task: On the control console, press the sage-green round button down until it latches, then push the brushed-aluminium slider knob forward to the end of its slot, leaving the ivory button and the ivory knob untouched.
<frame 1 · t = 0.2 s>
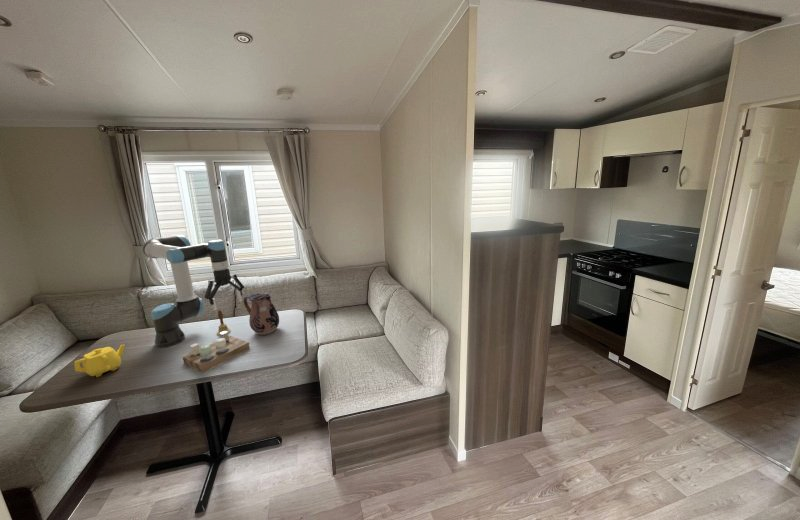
hand: (227, 305, 166), 28 cm above the table, fingers open, 13 cm apart
button ivory: (220, 343, 162), point 9 cm above the table, slide at 0.0 cm
ceramic pitcher: (263, 332, 194), on the table
slider aluminium: (224, 336, 175), point 7 cm above the table, slide at 0.0 cm
teapot: (104, 370, 158), on the table
slider ivory: (195, 349, 162), point 7 cm above the table, slide at 0.0 cm
hand bell: (223, 333, 195), on the table
console: (218, 355, 167), on the table
button sage: (205, 350, 156), point 9 cm above the table, slide at 0.0 cm
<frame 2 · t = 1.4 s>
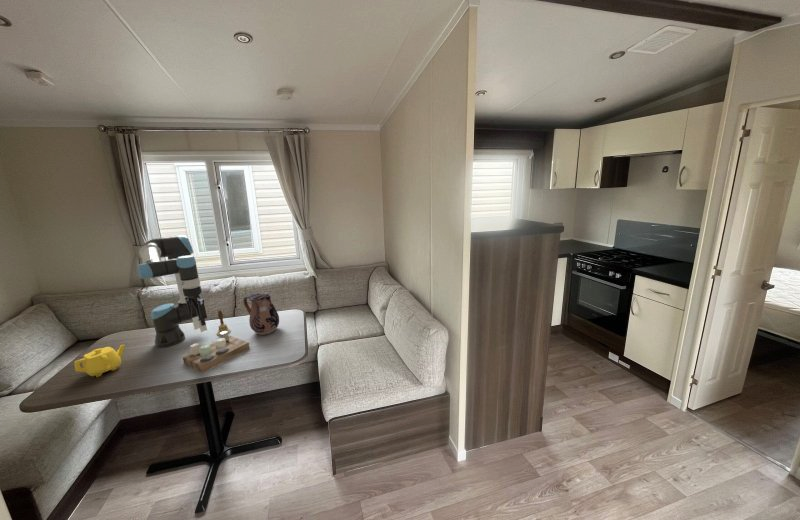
hand: (200, 329, 153), 21 cm above the table, fingers open, 5 cm apart
nothing on the table moved.
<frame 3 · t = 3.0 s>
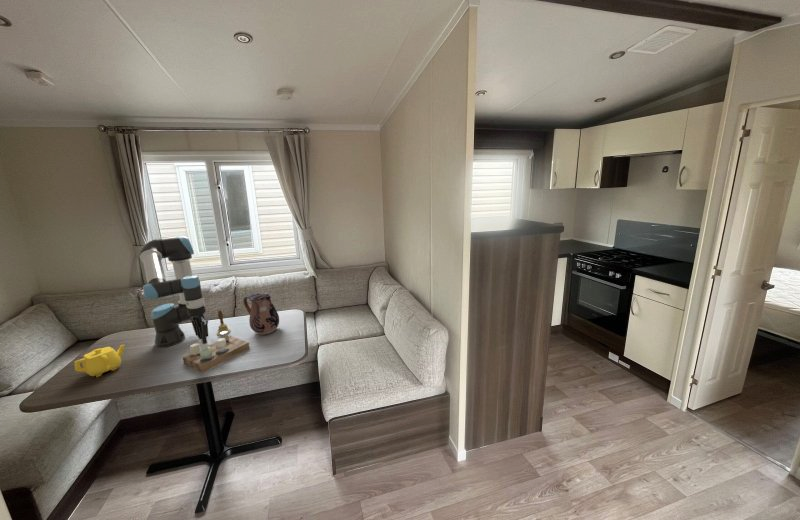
hand: (204, 348, 155), 10 cm above the table, fingers closed
button sage: (205, 352, 156), point 8 cm above the table, slide at 1.0 cm, touching gripper
everything else where it was.
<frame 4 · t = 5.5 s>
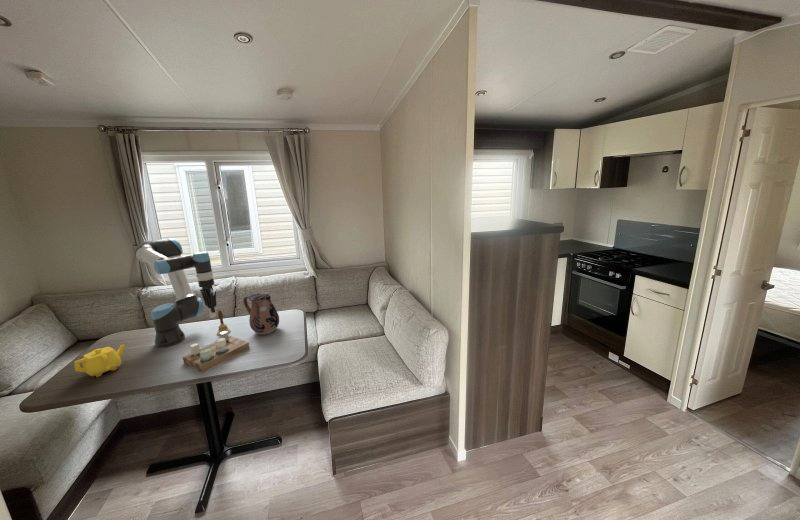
hand: (213, 317, 175), 18 cm above the table, fingers closed
button sage: (206, 354, 156), point 6 cm above the table, slide at 2.4 cm
everything else where it was.
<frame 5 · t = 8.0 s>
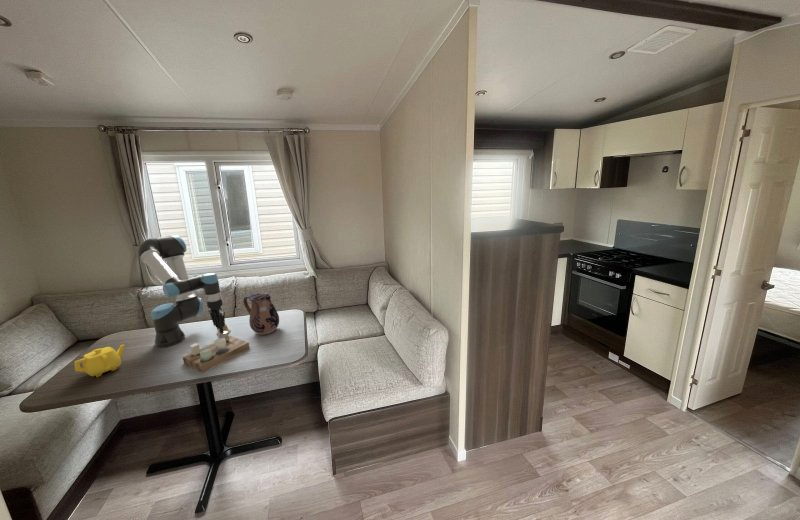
hand: (221, 337, 177), 6 cm above the table, fingers closed
slider aluminium: (224, 336, 175), point 7 cm above the table, slide at 0.3 cm, touching gripper
everything else where it was.
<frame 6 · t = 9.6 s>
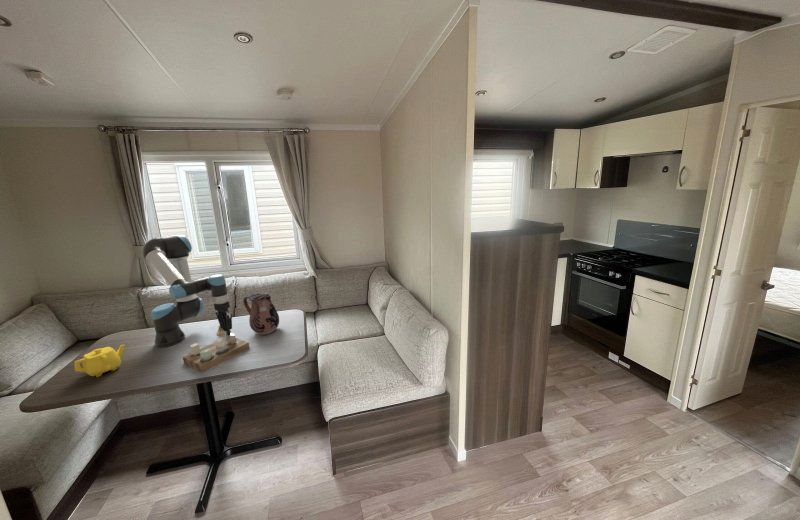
hand: (228, 339, 173), 5 cm above the table, fingers closed
slider aluminium: (231, 339, 171), point 7 cm above the table, slide at 7.4 cm, touching gripper
everything else where it was.
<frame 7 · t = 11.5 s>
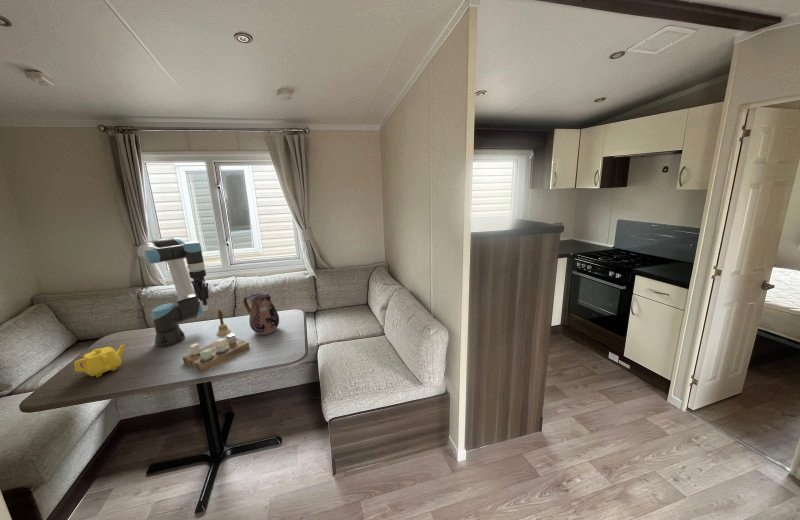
hand: (205, 310, 168), 25 cm above the table, fingers closed
slider aluminium: (231, 339, 171), point 7 cm above the table, slide at 7.4 cm
everything else where it was.
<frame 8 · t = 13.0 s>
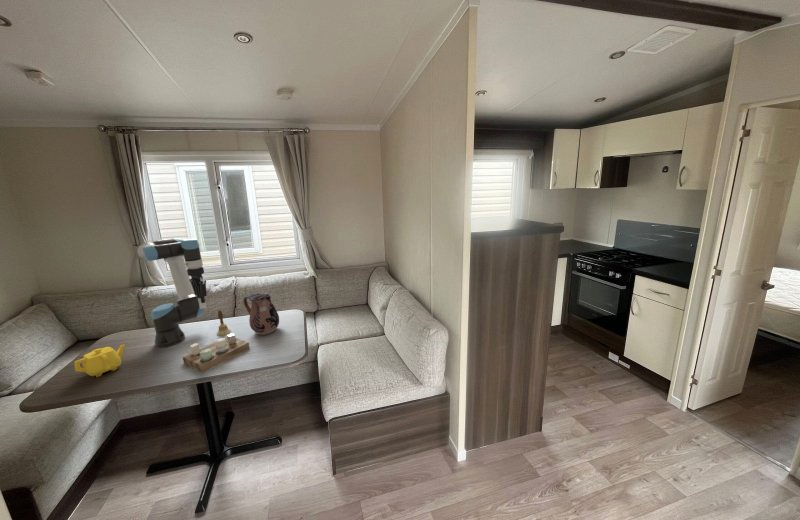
hand: (203, 307, 167), 26 cm above the table, fingers closed
nothing on the table moved.
at the end: button sage slide at 2.4 cm; slider aluminium slide at 7.4 cm; button ivory slide at 0.0 cm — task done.
